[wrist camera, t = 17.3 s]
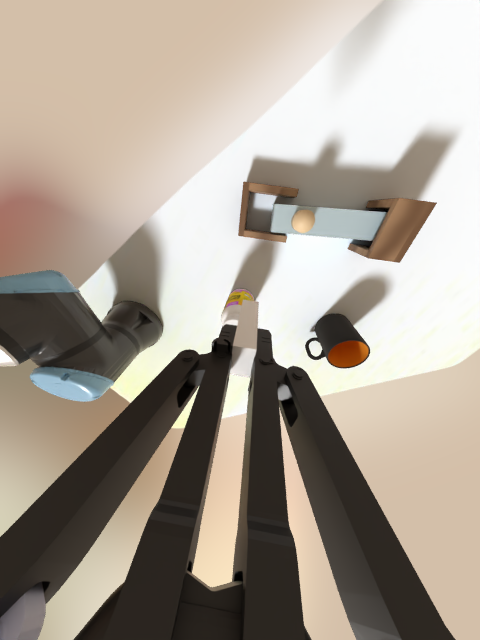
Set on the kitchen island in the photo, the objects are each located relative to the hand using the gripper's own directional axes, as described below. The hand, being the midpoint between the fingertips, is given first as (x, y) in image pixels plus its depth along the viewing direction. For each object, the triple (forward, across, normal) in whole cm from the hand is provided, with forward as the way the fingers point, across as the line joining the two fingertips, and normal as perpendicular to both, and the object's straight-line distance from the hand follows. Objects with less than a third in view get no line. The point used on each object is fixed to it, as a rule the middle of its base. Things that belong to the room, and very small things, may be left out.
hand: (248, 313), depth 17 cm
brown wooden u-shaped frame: (+24, 0, +8) cm, 26 cm away
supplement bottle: (+25, -2, -11) cm, 27 cm away
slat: (+25, +11, +8) cm, 28 cm away
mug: (+25, +21, -16) cm, 36 cm away
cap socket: (+24, +20, +8) cm, 33 cm away
